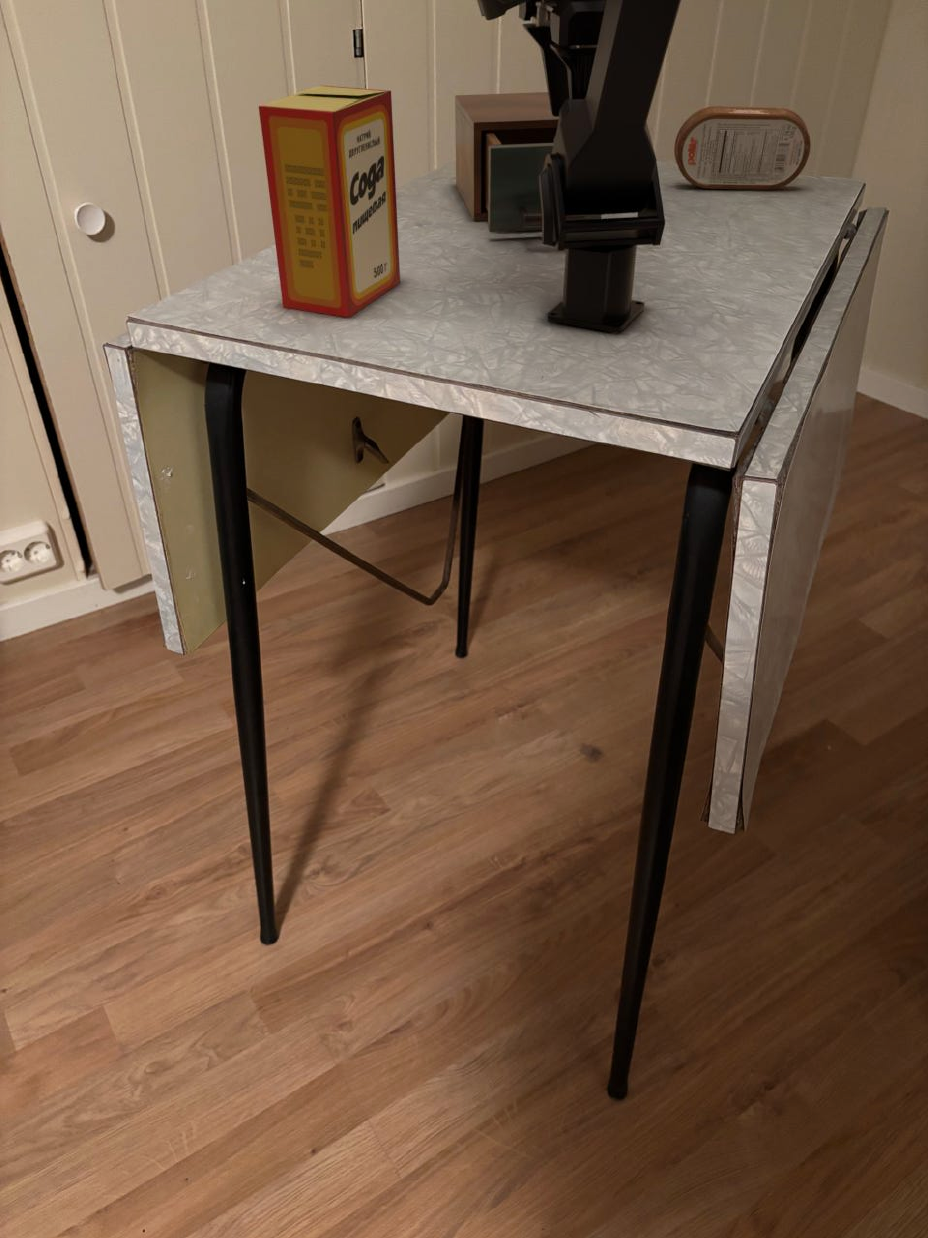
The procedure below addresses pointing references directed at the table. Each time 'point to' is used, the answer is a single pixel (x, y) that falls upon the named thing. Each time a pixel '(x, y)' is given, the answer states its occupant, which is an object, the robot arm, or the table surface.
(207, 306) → the table surface
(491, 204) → the drawer
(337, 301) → the baking soda box
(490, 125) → the cabinet
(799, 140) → the tin
